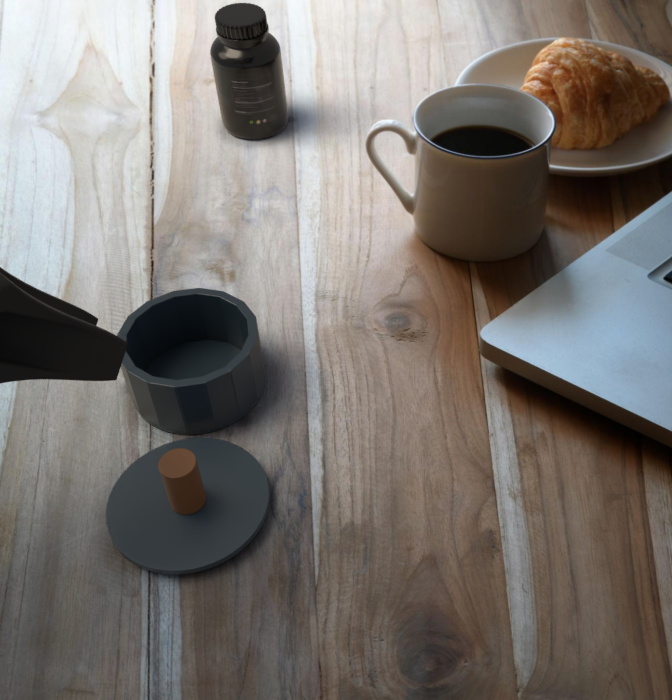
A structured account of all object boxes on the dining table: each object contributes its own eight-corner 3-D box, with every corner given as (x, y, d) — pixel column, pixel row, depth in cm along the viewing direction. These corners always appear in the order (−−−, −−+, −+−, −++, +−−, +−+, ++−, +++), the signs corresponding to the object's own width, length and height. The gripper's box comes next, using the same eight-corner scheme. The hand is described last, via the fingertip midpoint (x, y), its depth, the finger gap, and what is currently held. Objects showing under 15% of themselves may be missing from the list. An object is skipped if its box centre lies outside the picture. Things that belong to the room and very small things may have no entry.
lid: (107, 593, 59) (86, 548, 55) (111, 459, 67) (93, 411, 63) (277, 563, 61) (269, 518, 57) (264, 436, 68) (255, 388, 65)
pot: (131, 444, 67) (114, 395, 64) (133, 346, 74) (117, 297, 70) (271, 423, 69) (262, 374, 65) (260, 330, 76) (252, 280, 72)
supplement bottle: (218, 110, 98) (199, 0, 89) (282, 101, 100) (270, -7, 91) (227, 146, 94) (208, 34, 85) (294, 136, 95) (283, 26, 87)
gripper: (-169, 199, 37) (161, 295, 45) (-157, 185, 49) (101, 262, 57) (-221, 367, 37) (116, 434, 45) (-196, 311, 50) (66, 372, 57)
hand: (105, 346), depth 51 cm, fingers open, 7 cm apart
